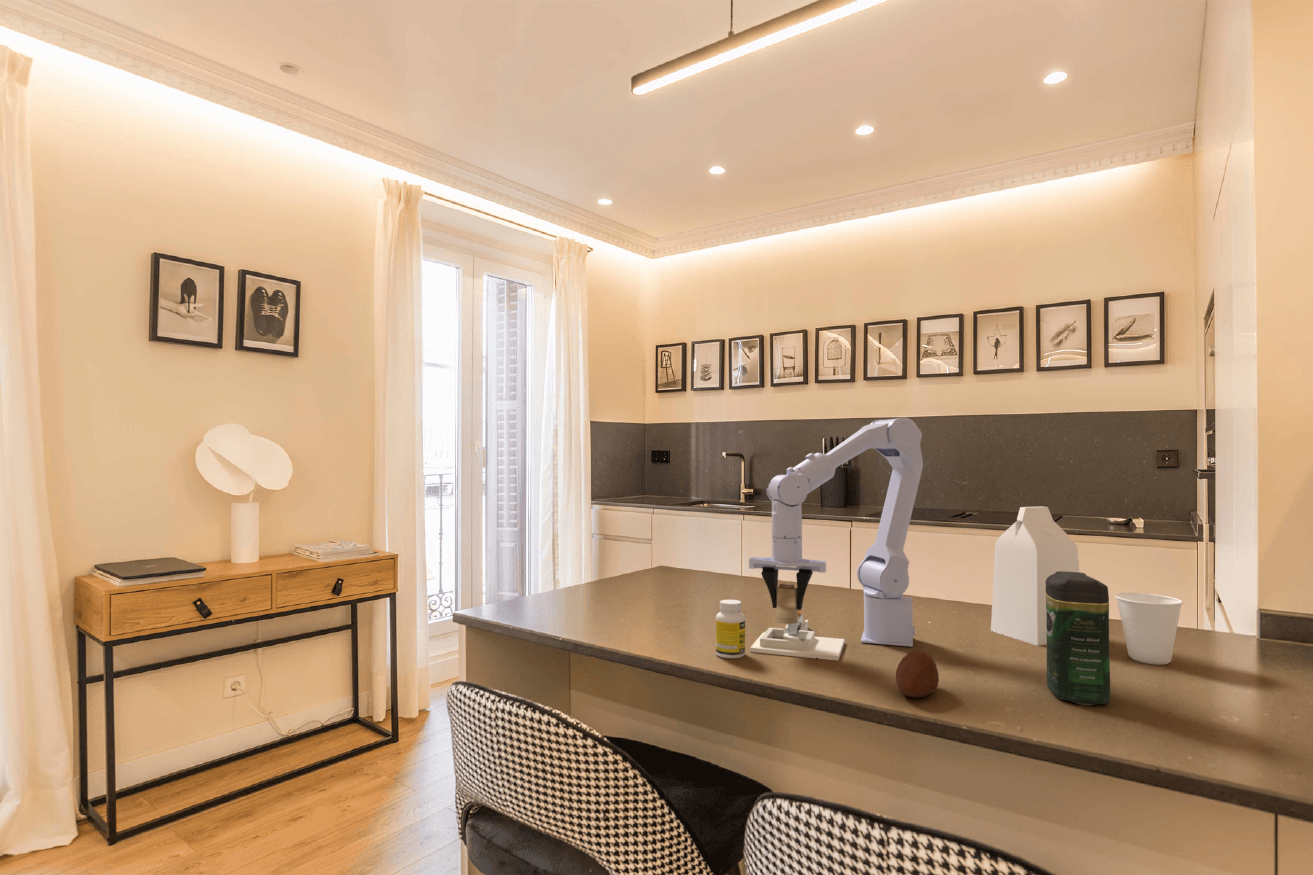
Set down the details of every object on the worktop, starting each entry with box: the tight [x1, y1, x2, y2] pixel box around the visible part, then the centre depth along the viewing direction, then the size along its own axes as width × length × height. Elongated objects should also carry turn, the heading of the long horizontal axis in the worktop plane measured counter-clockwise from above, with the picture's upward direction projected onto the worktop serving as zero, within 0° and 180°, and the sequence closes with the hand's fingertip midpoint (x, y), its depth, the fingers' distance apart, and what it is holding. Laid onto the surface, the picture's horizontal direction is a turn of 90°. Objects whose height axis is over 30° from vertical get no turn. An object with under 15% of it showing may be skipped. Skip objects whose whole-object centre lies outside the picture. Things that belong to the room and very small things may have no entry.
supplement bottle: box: [715, 599, 746, 659], centre depth 126 cm, size 5×5×10 cm
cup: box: [1114, 592, 1184, 666], centre depth 122 cm, size 10×10×11 cm
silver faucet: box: [788, 609, 804, 635], centre depth 140 cm, size 2×8×4 cm, turn 159°
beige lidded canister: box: [776, 583, 798, 625], centre depth 131 cm, size 4×4×7 cm
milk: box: [990, 506, 1080, 647], centre depth 139 cm, size 12×12×26 cm
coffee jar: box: [1045, 571, 1111, 706], centre depth 104 cm, size 10×8×19 cm
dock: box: [749, 619, 845, 662], centre depth 135 cm, size 16×22×2 cm
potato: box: [895, 649, 940, 699], centre depth 105 cm, size 6×12×6 cm, turn 149°
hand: (787, 607), depth 131 cm, fingers closed on beige lidded canister, 4 cm apart
